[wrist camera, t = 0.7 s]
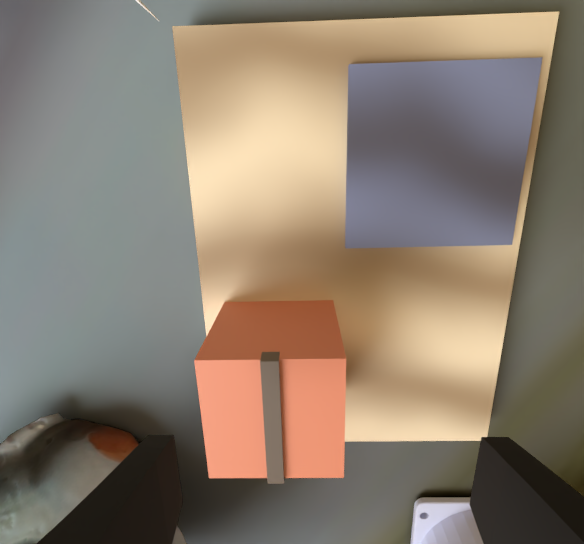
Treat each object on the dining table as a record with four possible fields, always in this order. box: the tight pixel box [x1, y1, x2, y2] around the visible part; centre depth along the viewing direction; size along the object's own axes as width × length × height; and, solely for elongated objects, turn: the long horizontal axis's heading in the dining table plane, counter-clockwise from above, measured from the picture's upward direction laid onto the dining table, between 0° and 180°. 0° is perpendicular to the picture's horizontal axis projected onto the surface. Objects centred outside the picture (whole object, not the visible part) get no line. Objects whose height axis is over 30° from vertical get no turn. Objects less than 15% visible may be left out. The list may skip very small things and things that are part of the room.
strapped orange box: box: [194, 300, 346, 484], centre depth 15 cm, size 5×5×5 cm
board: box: [172, 12, 559, 441], centre depth 15 cm, size 19×14×4 cm
